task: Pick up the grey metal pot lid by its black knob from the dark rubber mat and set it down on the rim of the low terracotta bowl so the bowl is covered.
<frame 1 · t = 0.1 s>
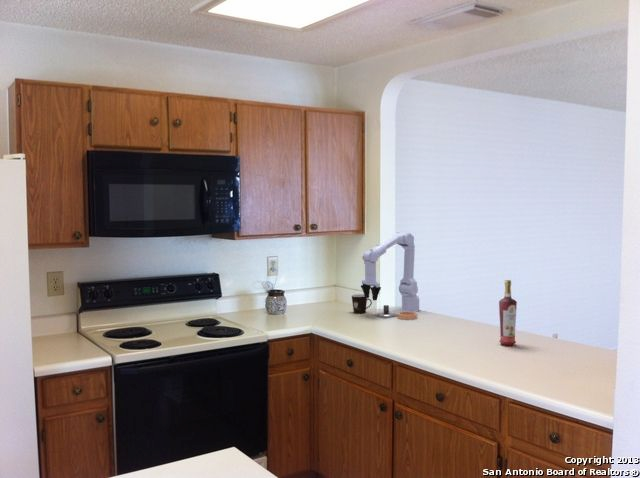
hand: (370, 299, 332), 10 cm above the countertop, tool pointing down, fingers open, 7 cm apart
mat: (386, 316, 335), on the countertop
coffee mug: (361, 314, 343), on the countertop
liquor: (507, 345, 271), on the countertop
bowl: (407, 319, 328), on the countertop
lid: (386, 315, 335), point 1 cm above the countertop, touching mat
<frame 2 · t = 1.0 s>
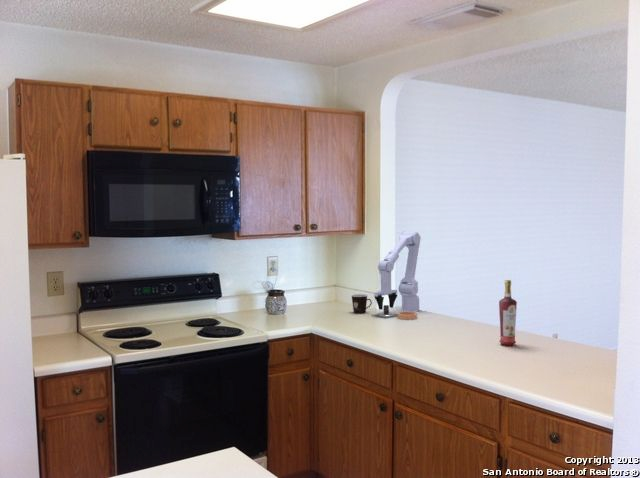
hand: (386, 308, 335), 4 cm above the countertop, tool pointing down, fingers open, 7 cm apart
nothing on the countertop moved.
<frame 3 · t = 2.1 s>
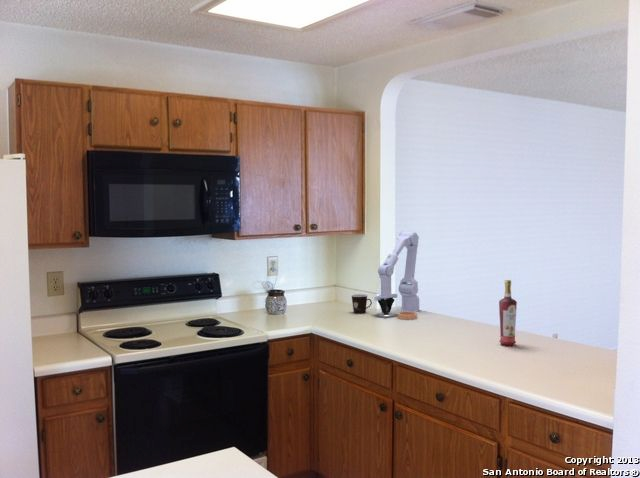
hand: (386, 312, 335), 2 cm above the countertop, tool pointing down, fingers closed on lid, 3 cm apart
lid: (386, 315, 335), point 1 cm above the countertop, touching gripper, mat
everything else where it was.
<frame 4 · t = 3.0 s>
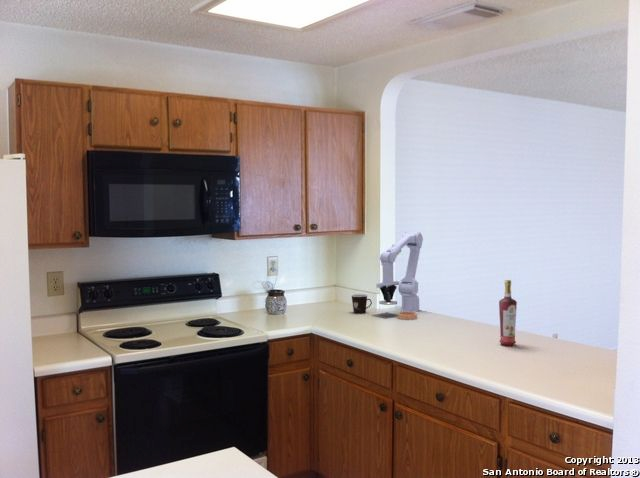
hand: (388, 299, 334), 9 cm above the countertop, tool pointing down, fingers closed on lid, 3 cm apart
lid: (388, 303, 334), point 7 cm above the countertop, touching gripper
everything else where it was.
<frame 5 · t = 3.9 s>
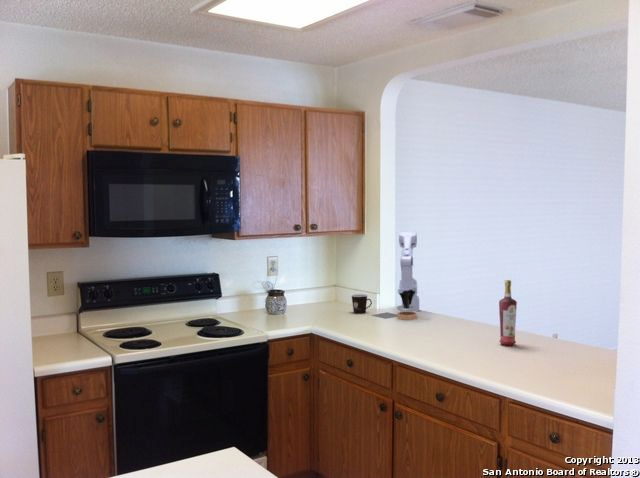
hand: (407, 305, 327), 7 cm above the countertop, tool pointing down, fingers closed on lid, 3 cm apart
lid: (406, 308, 328), point 5 cm above the countertop, touching gripper
everything else where it was.
when the fingers open (6 cm above the countertop, at t = 4.4 s): lid stays where it is, resting on bowl.
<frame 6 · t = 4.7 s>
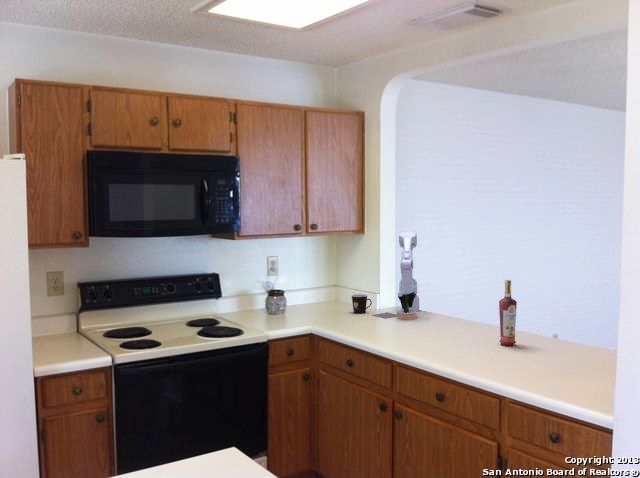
hand: (407, 308, 327), 6 cm above the countertop, tool pointing down, fingers open, 5 cm apart
lid: (406, 313, 328), point 3 cm above the countertop, touching bowl
everything else where it was.
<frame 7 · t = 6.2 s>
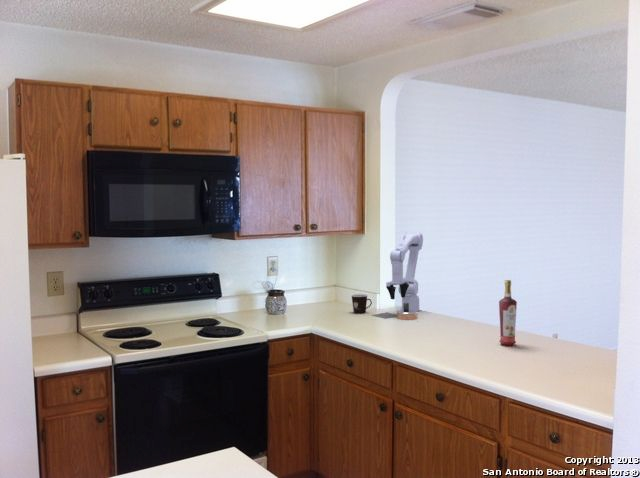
hand: (397, 298, 334), 10 cm above the countertop, tool pointing down, fingers open, 7 cm apart
nothing on the countertop moved.
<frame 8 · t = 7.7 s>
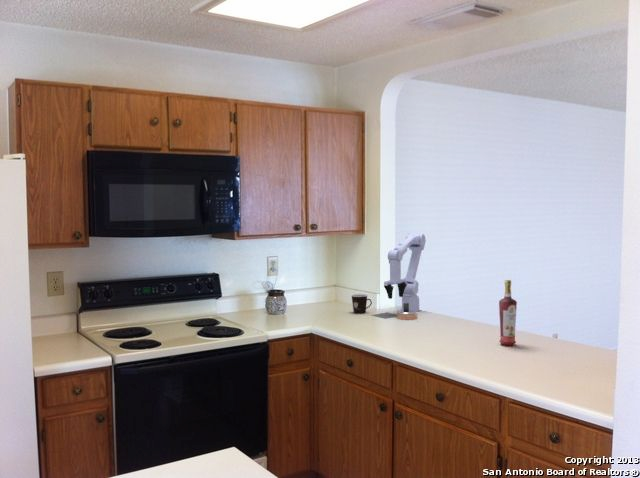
hand: (395, 297, 336), 10 cm above the countertop, tool pointing down, fingers open, 7 cm apart
nothing on the countertop moved.
at the end: lid 0.6 cm off-centre on the bowl, point 3.0 cm above the bowl's base; lid tilted 0°; the gripper is holding nothing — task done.
